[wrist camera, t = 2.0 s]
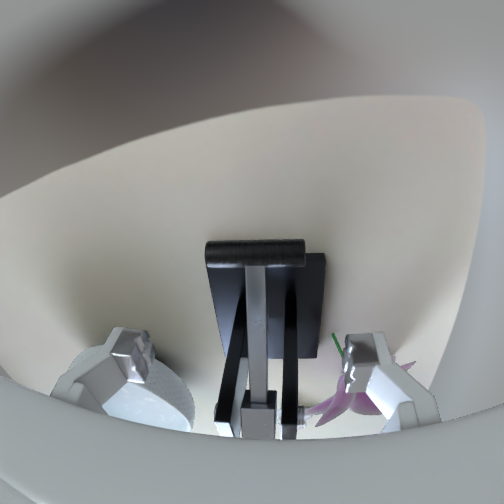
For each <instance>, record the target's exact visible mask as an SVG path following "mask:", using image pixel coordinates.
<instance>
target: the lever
mask: <svg viewBox="0 0 504 504" xmlns="http://www.w3.org/2000/svg"><path fill="white" fill-rule="evenodd" d="M305 257H306V256H305V240H304V239H275V240H226V241H208V242H207V243H206V246H205V262H206V265H207V267H208V268H245V276H246V305H247V333H248V360H249V385H250V390H245V393H244V397H243V400H242V404H241V408H240V414H241V429H242V438H253V439H275V431H276V420H277V391H276V390H268V337H267V280H266V268H277V267H305Z"/></svg>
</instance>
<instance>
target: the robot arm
mask: <svg viewBox="0 0 504 504" xmlns="http://www.w3.org/2000/svg"><path fill="white" fill-rule="evenodd" d="M149 337H150V336H149V334H148V332H147V331H146V330H139V329H132V328H123V327H115V328H113V330H112V332H111V333H110V335H109V337H108V339H107V340H106V342H105V344H104V346H103V347H102V349H101V351H100V352H97V353H95V354H93V355H92V356H90V357H89V358H87V359H86V360H84V361H83V362H81V363H80V364H78V365H77V366H75V367H74V368H72V369H71V370H69V371H68V372H66V373H65V374H63V375H62V376H60V378H59V380H58V381H57V383H56V385H55V387H54V389H53V390H52V392H51V394H50V396H48V395H45V394H43V393H40V392H38V391H35V390H33V389H30V388H28V387H26V386H23V385H21V384H19V383H17V382H15V381H12V380H10V379H8V378H6V377H4V376H0V504H504V403H503V404H501V405H498V406H495V407H492V408H489V409H486V410H483V411H480V412H477V413H473V414H470V415H467V416H463V417H459V418H456V419H452V420H448V421H444V422H441V418H440V414H439V411H438V407H437V404H436V400H435V397H434V395H432V394H431V393H430V392H429V391H428V390H427V389H426V388H424V387H423V386H422V385H421V384H420V383H419V382H418V381H416V380H415V379H414V378H413V377H412V376H411V375H410V374H408V373H407V372H406V371H405V370H404V369H403V368H402V367H400V366H399V365H398V364H397V363H393V361H392V357H391V354H390V350H389V347H388V343H387V340H386V337H385V334H384V333H383V332H379V333H364V334H349V335H347V336H346V338H345V345H346V347H345V348H344V349H343V354H342V367H343V371H344V372H345V373H346V374H345V378H344V384H345V392H346V393H359V392H366V394H367V395H368V396H369V397H370V399H371V400H372V401H373V402H374V404H375V405H376V406H377V407H378V408H379V410H380V411H381V412H382V413H383V414H384V416H385V417H386V418H387V419H388V422H387V424H386V425H385V427H384V428H383V430H382V431H381V433H380V434H373V435H364V436H354V437H343V438H328V439H296V440H285V439H253V438H237V437H226V436H215V435H207V434H199V433H191V432H185V431H178V430H172V429H166V428H161V427H156V426H151V425H146V424H141V423H137V422H132V421H128V420H124V419H120V418H116V417H112V416H109V415H108V414H107V412H106V411H105V410H104V409H103V407H102V405H103V404H104V403H106V402H107V401H108V400H109V399H110V398H111V397H112V396H113V395H114V394H115V393H117V392H118V391H119V390H120V389H121V388H122V387H123V386H124V385H125V384H126V383H128V381H132V382H139V383H145V381H146V379H147V376H148V374H149V369H148V367H149V366H150V365H152V364H153V361H154V358H155V348H154V345H153V343H152V342H150V341H149V340H148V339H149Z"/></svg>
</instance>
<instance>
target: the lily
mask: <svg viewBox="0 0 504 504" xmlns="http://www.w3.org/2000/svg"><path fill="white" fill-rule="evenodd" d="M331 335H332V337H333V339H334V341H335V344H336V346H337V348H338V350H339V352H340V355H341V357H342V354H343V352H342V350H341V348H340V345H339V343H338V341H337V339H336V337H335V334H334V333H332V334H331ZM395 359H396V358H395V356H392V361H393V363H395ZM415 362H416V361H414V362H411V363H408V364H405V365H402V366H400V367H402V368H403V369H404V370H405V371H407V370H408V369H409V368H410V367H411V366H412V365H414V364H415ZM345 374H346V373H345ZM345 374H344V375H341V376H340V377H339V380H338V385H337V392H336V394H335V395H333V396H332V397H330V398H329V399H327V400H326V401H324V402H322V403H320V404H318V405H316V406H314V407H311V408H309V409H307V410H305V414H306V415H317V414H322V413H324V414H323V416H322V417H321V419H320V420H319V421H318V423H317V424H316V425H315V427H318V426H321V425H323V424H325V423H327V422H329V421H331V420H332V419H334V418H336V417H337V416H339V415H340V414H342V413H343V412H345V411H346V410H347V409H348V408H350V410H352V411H353V412H355V413H358V414H362V415H381V414H383V413H382V412H381V411H380V410H379V408H378V407H377V406H376V405H375V404H374V402H373V401H372V400H371V399H370V397H369V396H368V395H367V394H366V392H359V393H346V392H345V384H344V378H345Z"/></svg>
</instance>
